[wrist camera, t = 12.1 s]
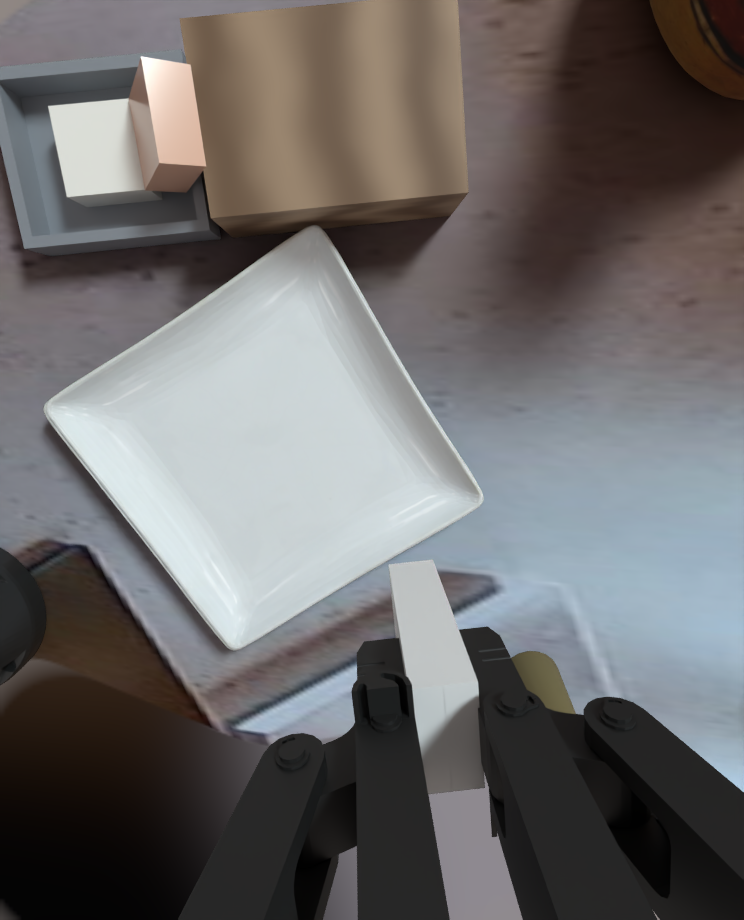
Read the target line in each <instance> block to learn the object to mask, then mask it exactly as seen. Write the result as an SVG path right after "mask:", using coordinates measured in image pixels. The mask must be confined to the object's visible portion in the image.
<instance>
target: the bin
mask: <svg viewBox="0 0 744 920" xmlns="http://www.w3.org/2000/svg"><path fill="white" fill-rule="evenodd" d="M141 56H142V57H148V58H154V59H160V60H166V61H172V62H178V63H184V64H187V63H186V57H185V55H184V53H183V52H182V50H171V51H160V52H150V53H140V54H129V55H119V56H108V57H98V58H87V59H77V60H66V61H56V62H46V63H35V64H25V65H14V66H4V67H0V146H1V150H2V155H3V159H4V163H5V168H6V172H7V176H8V181H9V185H10V189H11V194H12V198H13V202H14V207H15V211H16V215H17V220H18V224H19V228H20V233H21V237H22V241H23V246H24V249H27V250H30V251H34V252H37V253H41V254H44V255H48V256H58V255H68V254H77V253H87V252H97V251H107V250H117V249H127V248H137V247H147V246H157V245H167V244H177V243H187V242H197V241H207V240H217V239H221V236H220V230H219V225H218V224H217V223H216V222H215V221H213V220H212V219H211V216H210V210H209V204H208V197H207V191H206V184H205V178H204V172H203V171H202V173H201V174H200V175H199V177H198V178H197V179H196V181H195V182H194V183H193V185H192V186H191V187H190V189H189V190H188V191H187V192H186V193H185V192H164V191H161V193H162V199H163V200H157V201H147V202H136V203H126V204H116V205H106V206H96V207H85V206H83V205H81V204H79V203H77V202H76V201H74V200H72V199H70V198H68V197H67V195H66V190H65V185H64V181H63V176H62V171H61V166H60V161H59V157H58V152H57V147H56V142H55V137H54V133H53V128H52V123H51V118H50V113H49V109H48V106H54V105H65V104H75V103H86V102H96V101H107V100H117V99H128V98H129V95H130V92H131V89H132V85H133V82H134V78H135V75H136V71H137V68H138V65H139V61H140V58H141Z"/></svg>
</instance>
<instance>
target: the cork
mask: <svg viewBox="0 0 744 920" xmlns="http://www.w3.org/2000/svg"><path fill="white" fill-rule="evenodd" d="M511 659H512V661H513V663H514V665H515V667H516V669H517V671H518V673H519V675H520V677H521V679H522V681H523V683H524V685H525V687H526V689H527V690H528V691H530V692H532V693H534V694H535V695H537V696H538V697H539V698H540V699H541V701H542V702H543V703H544V705H545V707H546V708H549V709H551V710H554V711H558V712H563V713H571V714H576V713H575V710H574V708H573V705H572V703H571V700H570V698H569V695H568V693H567V690H566V688H565V685H564V683H563V680H562V678H561V675H560V673H559V670H558V668H557V666H556V664H555V663H554V661H553V660H552V659H551V658H550V657H549V656H547V655H546V654H543V653H540V652H535V651H527V652H523V653H519V654H517V655H516V656H514V657H512V658H511Z"/></svg>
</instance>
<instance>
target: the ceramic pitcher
mask: <svg viewBox="0 0 744 920" xmlns="http://www.w3.org/2000/svg"><path fill="white" fill-rule="evenodd" d="M650 5H651V8H652V11H653V14H654V18H655V21H656V23H657V25H658V28H659V30H660V33H661V35H662V37H663V38H664V40H665V42H666V44H667V46H668V48H669V50H670V51H671V53H672V54H673V56H674V57H675V59H676V60H677V61H678V63H679V64H680V65H681V66H682V67H683V68H684V70H685V71H686V72H687V73H688V74H690V75H691V76H692V77H693V78H694V79H695V80H697V81H698V82H700V83H701V84H702V85H704V86H705V87H706V88H708V89H710V90H712V91H714V92H716V93H718V94H720V95H721V96H724V97H729V98H733V99H737V100H744V0H650Z"/></svg>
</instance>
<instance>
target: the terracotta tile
mask: <svg viewBox="0 0 744 920" xmlns="http://www.w3.org/2000/svg"><path fill="white" fill-rule="evenodd" d="M128 100H129V105H130V111H131V117H132V122H133V128H134V133H135V139H136V144H137V150H138V156H139V161H140V167H141V172H142V178H143V183H144V189H145V191H164V192H185V193H186V192H187V191H188V190H189V189H190V187H191V186H192V185H193V183H194V182H195V181H196V179H197V178H198V177H199V175H200V174H201V173H202V171H203V170H204V169H205V168H206V161H205V155H204V148H203V142H202V135H201V129H200V122H199V116H198V109H197V103H196V97H195V90H194V84H193V77H192V71H191V65H190V64H184V63H178V62H172V61H166V60H160V59H154V58H148V57H142V56H141V58H140V61H139V65H138V68H137V71H136V75H135V78H134V82H133V85H132V89H131V92H130V95H129V99H128Z"/></svg>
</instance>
